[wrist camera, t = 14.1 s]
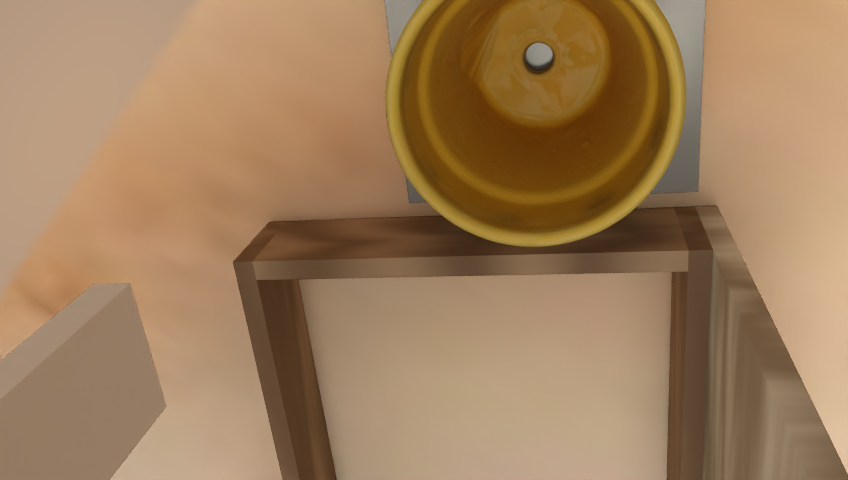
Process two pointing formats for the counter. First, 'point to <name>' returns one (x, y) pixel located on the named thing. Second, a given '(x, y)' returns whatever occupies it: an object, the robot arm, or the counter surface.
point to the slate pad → (687, 20)
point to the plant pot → (535, 113)
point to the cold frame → (599, 253)
